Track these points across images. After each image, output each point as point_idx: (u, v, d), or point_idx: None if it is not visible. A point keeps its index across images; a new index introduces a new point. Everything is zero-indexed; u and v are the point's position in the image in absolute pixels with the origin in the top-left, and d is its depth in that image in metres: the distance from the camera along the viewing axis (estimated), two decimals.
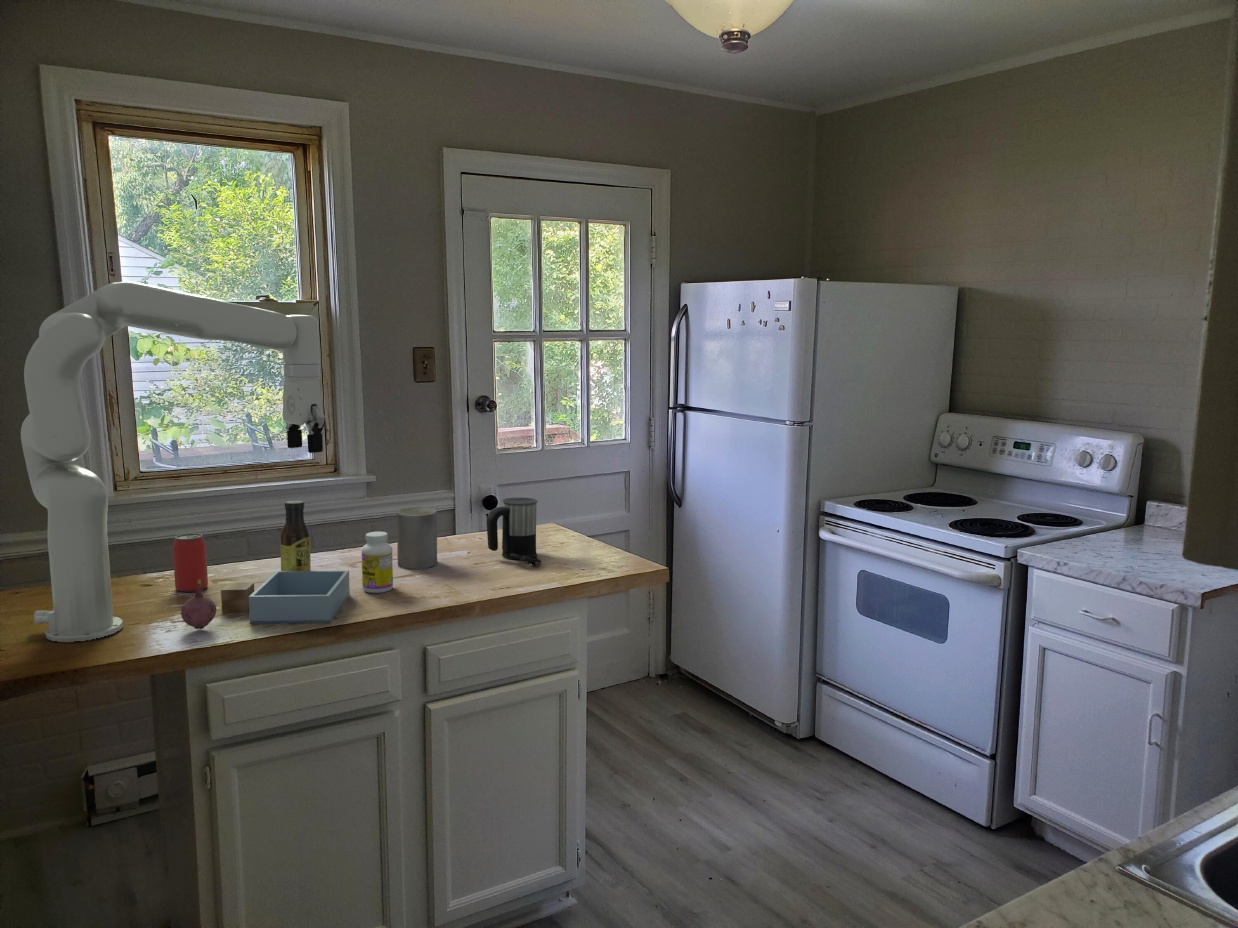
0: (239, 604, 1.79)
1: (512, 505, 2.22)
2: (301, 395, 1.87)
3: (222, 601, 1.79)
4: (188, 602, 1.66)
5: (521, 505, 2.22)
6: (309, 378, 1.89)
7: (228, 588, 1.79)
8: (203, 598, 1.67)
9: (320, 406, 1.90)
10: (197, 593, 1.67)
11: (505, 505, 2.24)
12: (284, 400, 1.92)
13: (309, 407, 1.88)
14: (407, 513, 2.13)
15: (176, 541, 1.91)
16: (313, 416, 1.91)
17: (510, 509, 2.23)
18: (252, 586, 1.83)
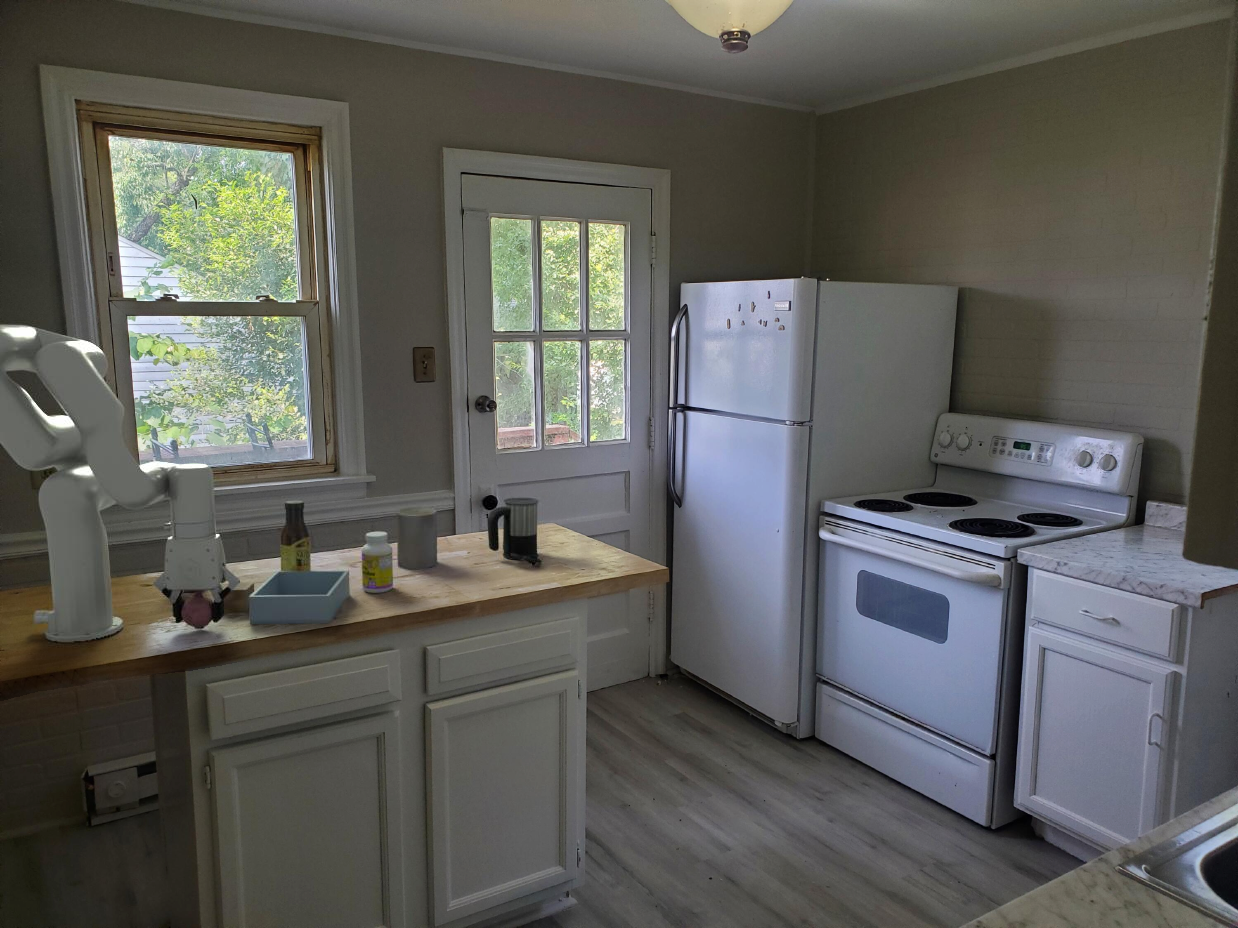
0: (239, 604, 1.79)
1: (513, 505, 2.22)
2: (214, 556, 1.64)
3: None
4: (188, 602, 1.66)
5: (522, 505, 2.22)
6: (214, 535, 1.66)
7: None
8: (203, 598, 1.67)
9: (225, 563, 1.69)
10: (197, 593, 1.67)
11: (506, 505, 2.24)
12: (171, 565, 1.64)
13: (221, 567, 1.66)
14: (407, 513, 2.13)
15: None
16: None
17: (511, 509, 2.22)
18: (252, 586, 1.83)
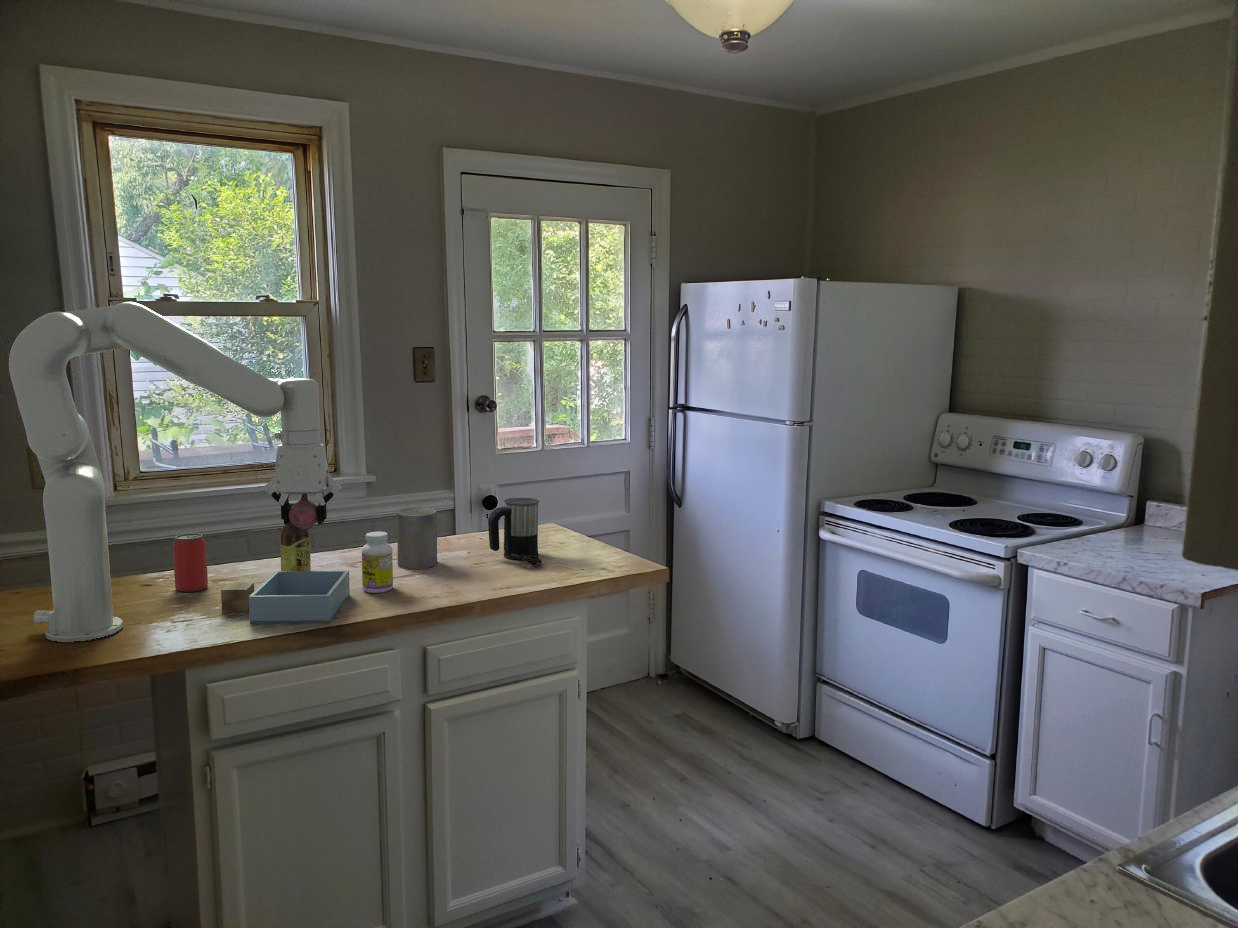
0: (239, 604, 1.79)
1: (514, 505, 2.22)
2: (320, 462, 1.80)
3: (222, 601, 1.79)
4: (295, 505, 1.82)
5: (523, 505, 2.22)
6: (319, 443, 1.82)
7: (228, 588, 1.79)
8: (308, 502, 1.83)
9: None
10: (303, 497, 1.83)
11: (507, 505, 2.24)
12: (281, 469, 1.79)
13: (326, 473, 1.82)
14: (407, 513, 2.13)
15: (176, 541, 1.91)
16: None
17: (512, 509, 2.22)
18: (252, 586, 1.83)
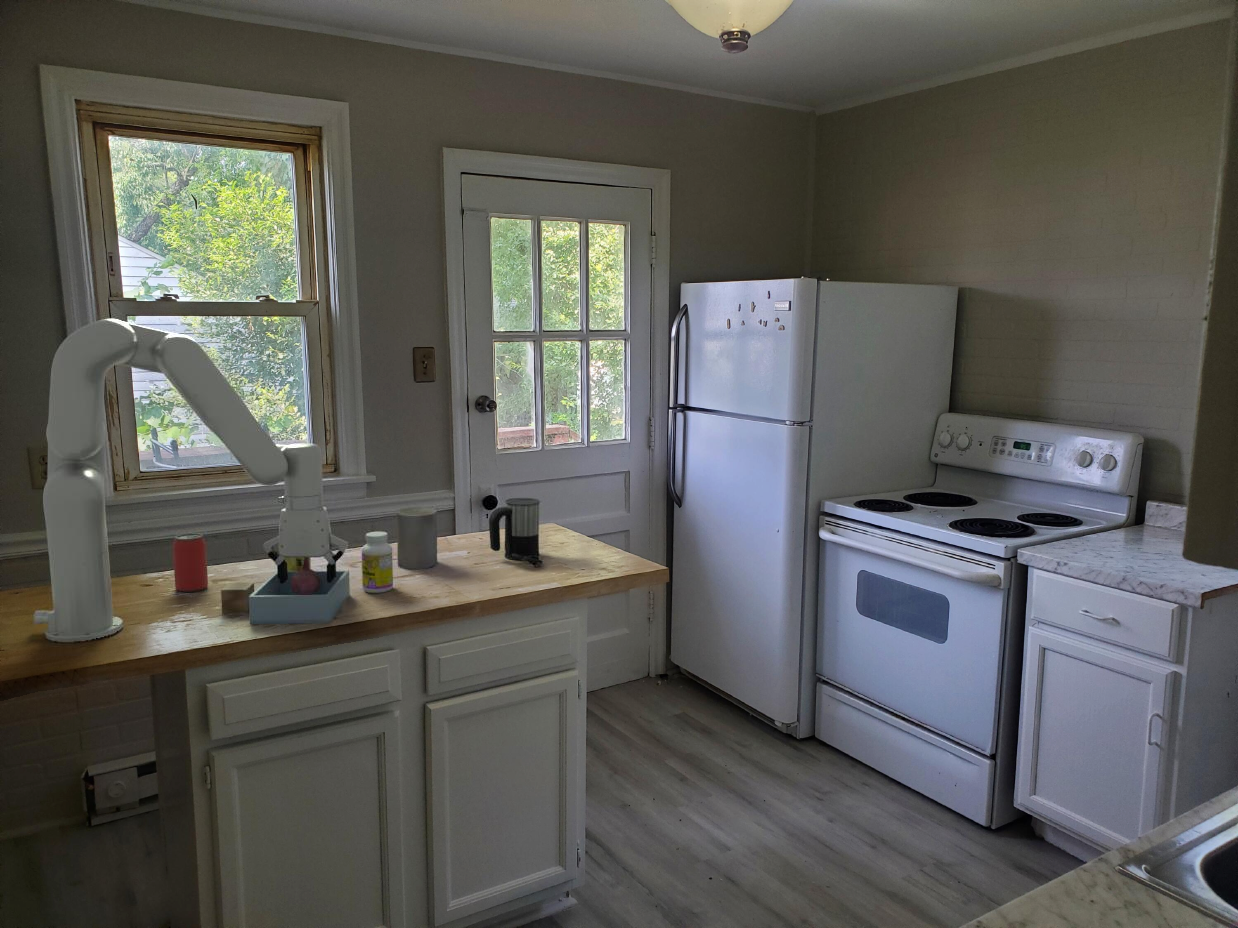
0: (239, 604, 1.79)
1: (514, 505, 2.22)
2: (323, 526, 1.82)
3: (222, 601, 1.79)
4: (297, 574, 1.84)
5: (523, 505, 2.21)
6: (322, 507, 1.84)
7: (228, 588, 1.79)
8: (310, 570, 1.85)
9: None
10: (305, 566, 1.85)
11: (508, 505, 2.23)
12: (285, 534, 1.81)
13: (328, 537, 1.84)
14: (407, 513, 2.13)
15: (176, 541, 1.91)
16: None
17: (512, 509, 2.22)
18: (252, 586, 1.83)
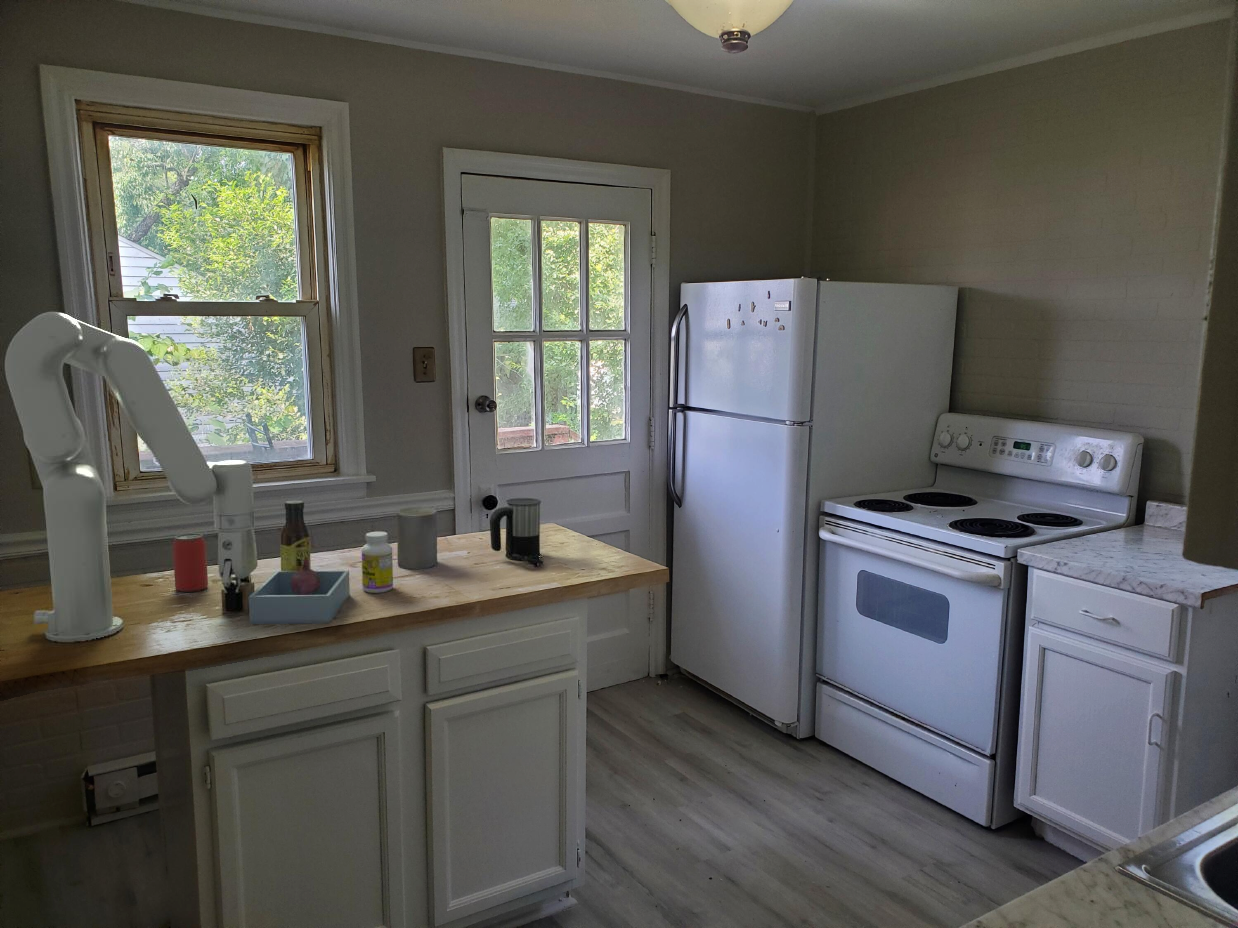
0: None
1: (515, 505, 2.22)
2: (254, 538, 1.84)
3: (222, 601, 1.79)
4: (297, 574, 1.84)
5: (524, 506, 2.21)
6: None
7: None
8: (310, 570, 1.85)
9: None
10: (305, 566, 1.85)
11: (508, 505, 2.23)
12: (244, 554, 1.77)
13: None
14: (407, 513, 2.13)
15: (176, 541, 1.91)
16: None
17: (513, 509, 2.22)
18: (252, 586, 1.83)
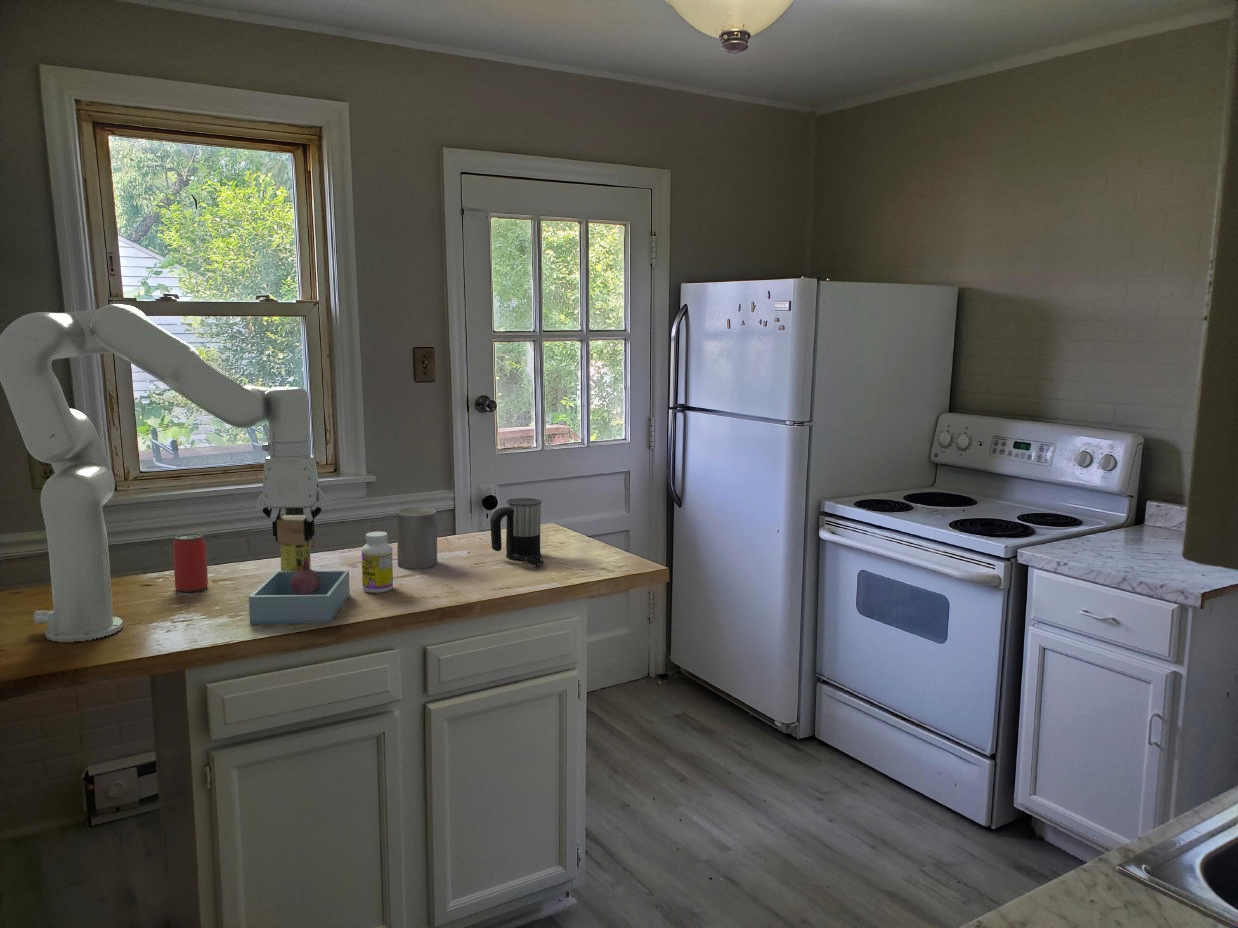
0: None
1: (516, 506, 2.21)
2: (310, 475, 1.72)
3: None
4: (297, 574, 1.84)
5: (525, 506, 2.21)
6: (309, 455, 1.73)
7: (287, 516, 1.76)
8: (310, 570, 1.85)
9: (318, 484, 1.76)
10: (305, 566, 1.85)
11: (509, 505, 2.23)
12: (269, 483, 1.71)
13: (316, 487, 1.73)
14: (407, 513, 2.13)
15: (176, 541, 1.91)
16: None
17: (514, 509, 2.22)
18: (297, 523, 1.73)
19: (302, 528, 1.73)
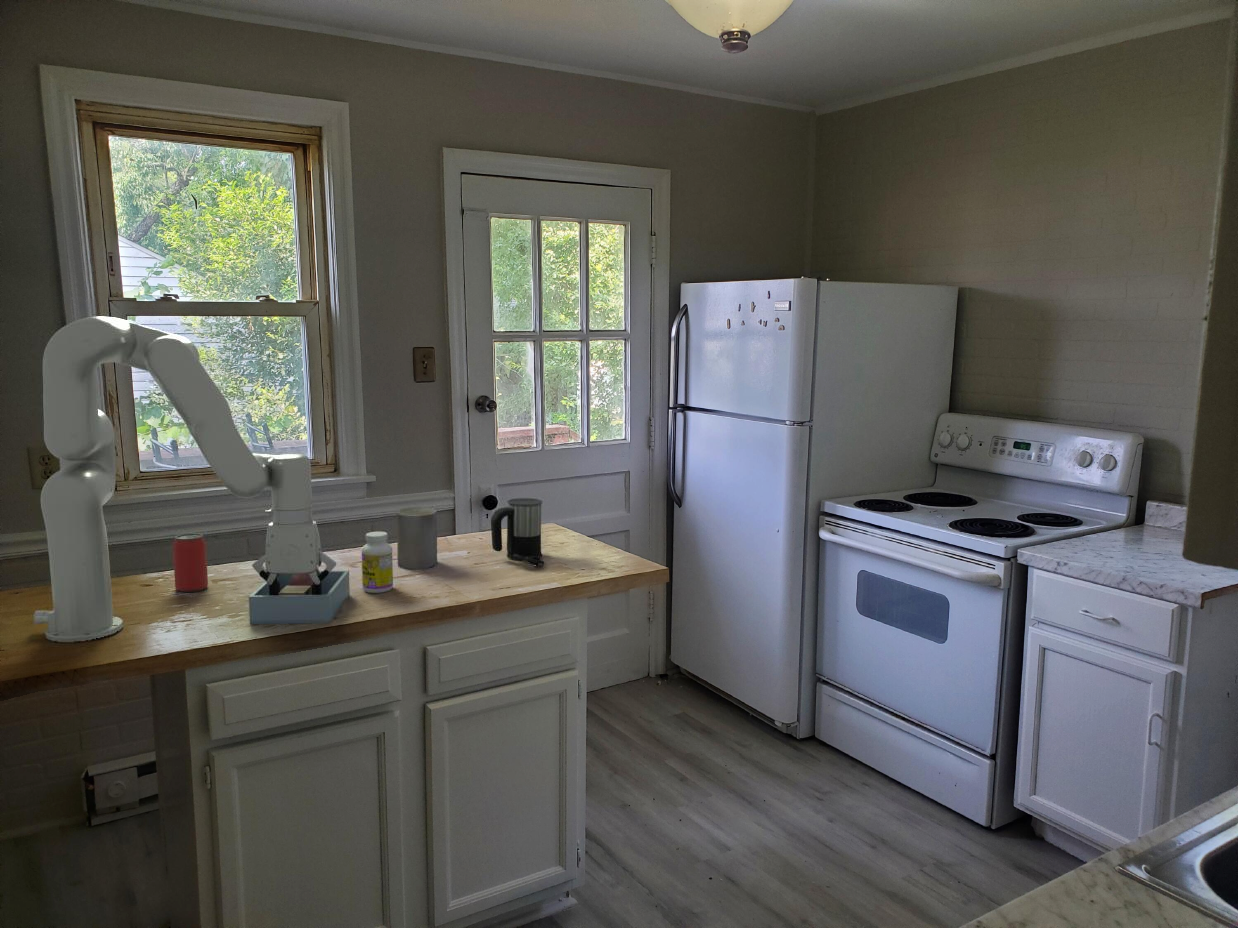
0: None
1: (516, 506, 2.21)
2: (312, 541, 1.74)
3: None
4: (297, 574, 1.84)
5: (525, 506, 2.21)
6: (311, 521, 1.75)
7: (289, 587, 1.78)
8: None
9: (320, 549, 1.78)
10: None
11: (510, 506, 2.23)
12: (272, 550, 1.73)
13: (318, 552, 1.75)
14: (407, 513, 2.13)
15: (176, 541, 1.91)
16: None
17: (514, 510, 2.22)
18: None
19: None
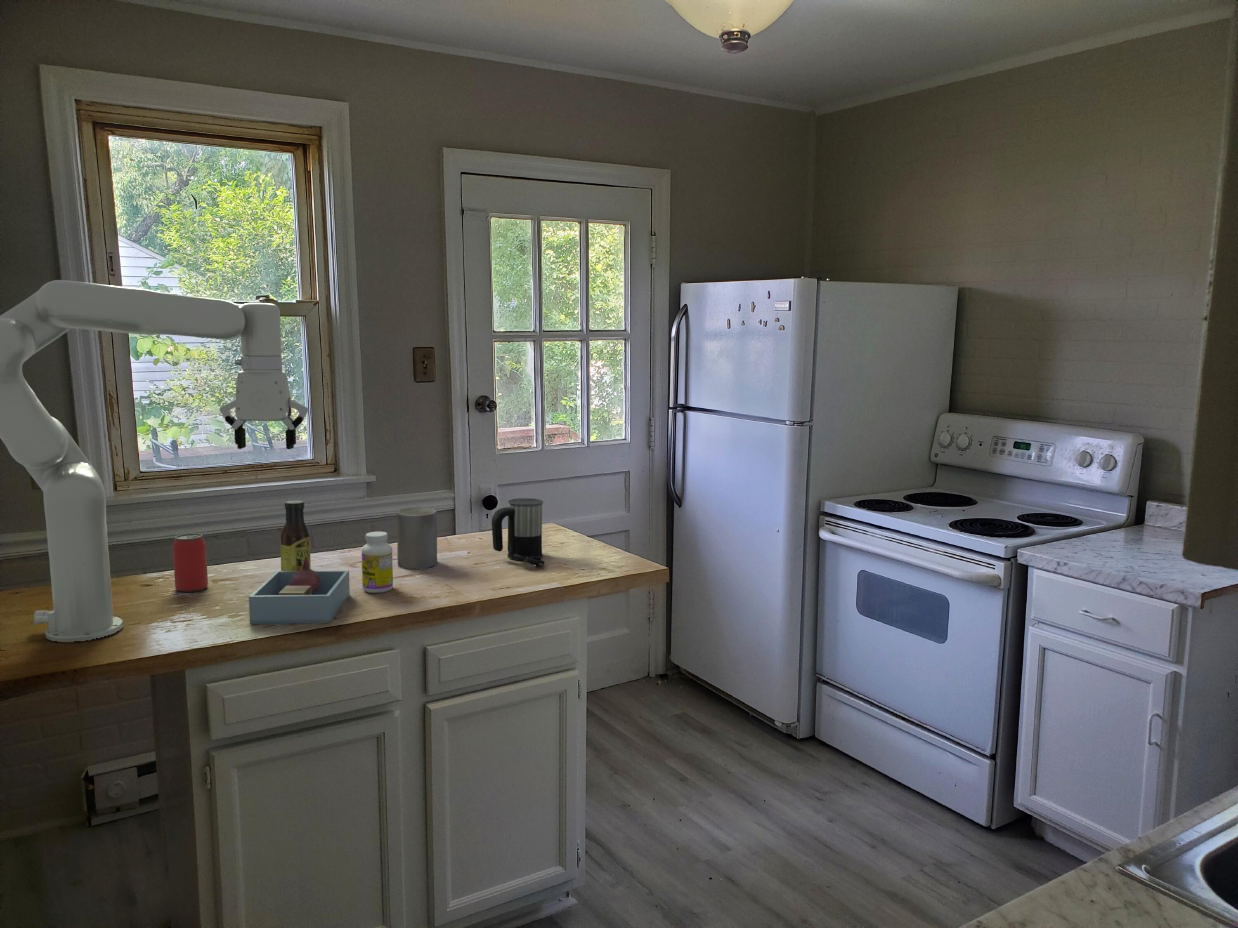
0: None
1: (517, 506, 2.21)
2: (282, 388, 1.76)
3: None
4: (297, 574, 1.84)
5: (526, 506, 2.21)
6: (281, 370, 1.78)
7: (289, 587, 1.78)
8: (310, 570, 1.85)
9: (290, 399, 1.81)
10: (305, 566, 1.85)
11: (510, 506, 2.23)
12: (242, 396, 1.76)
13: (287, 401, 1.78)
14: (407, 513, 2.13)
15: (176, 541, 1.91)
16: None
17: (515, 510, 2.22)
18: None
19: None
